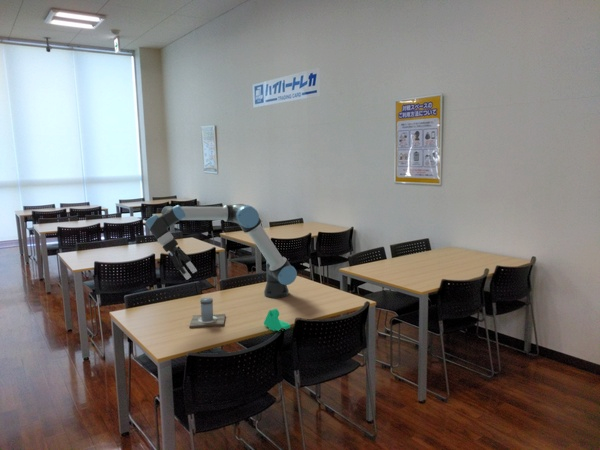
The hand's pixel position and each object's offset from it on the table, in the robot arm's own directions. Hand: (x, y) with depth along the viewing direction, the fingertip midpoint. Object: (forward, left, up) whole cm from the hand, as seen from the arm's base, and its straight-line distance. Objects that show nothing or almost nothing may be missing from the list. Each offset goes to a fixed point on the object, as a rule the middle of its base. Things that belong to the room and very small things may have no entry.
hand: (192, 275), depth 240 cm
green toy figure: (+19, +43, -24) cm, 53 cm away
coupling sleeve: (+6, +7, -22) cm, 24 cm away
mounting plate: (+6, +8, -24) cm, 26 cm away
